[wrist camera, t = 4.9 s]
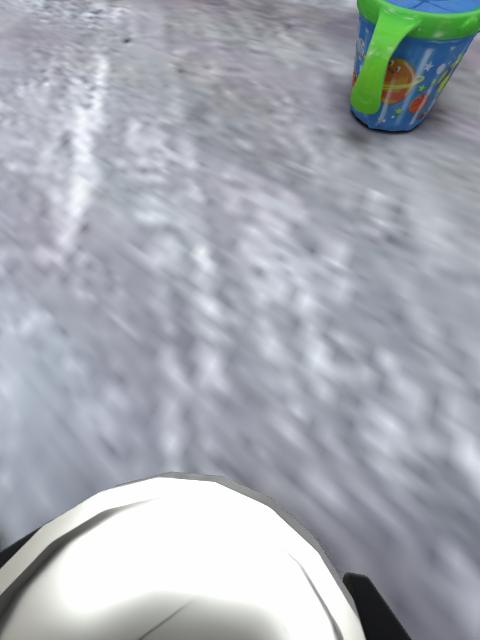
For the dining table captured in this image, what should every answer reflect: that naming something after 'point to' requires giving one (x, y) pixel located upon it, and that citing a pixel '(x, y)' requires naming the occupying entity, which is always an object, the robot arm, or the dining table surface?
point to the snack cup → (407, 57)
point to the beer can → (175, 570)
